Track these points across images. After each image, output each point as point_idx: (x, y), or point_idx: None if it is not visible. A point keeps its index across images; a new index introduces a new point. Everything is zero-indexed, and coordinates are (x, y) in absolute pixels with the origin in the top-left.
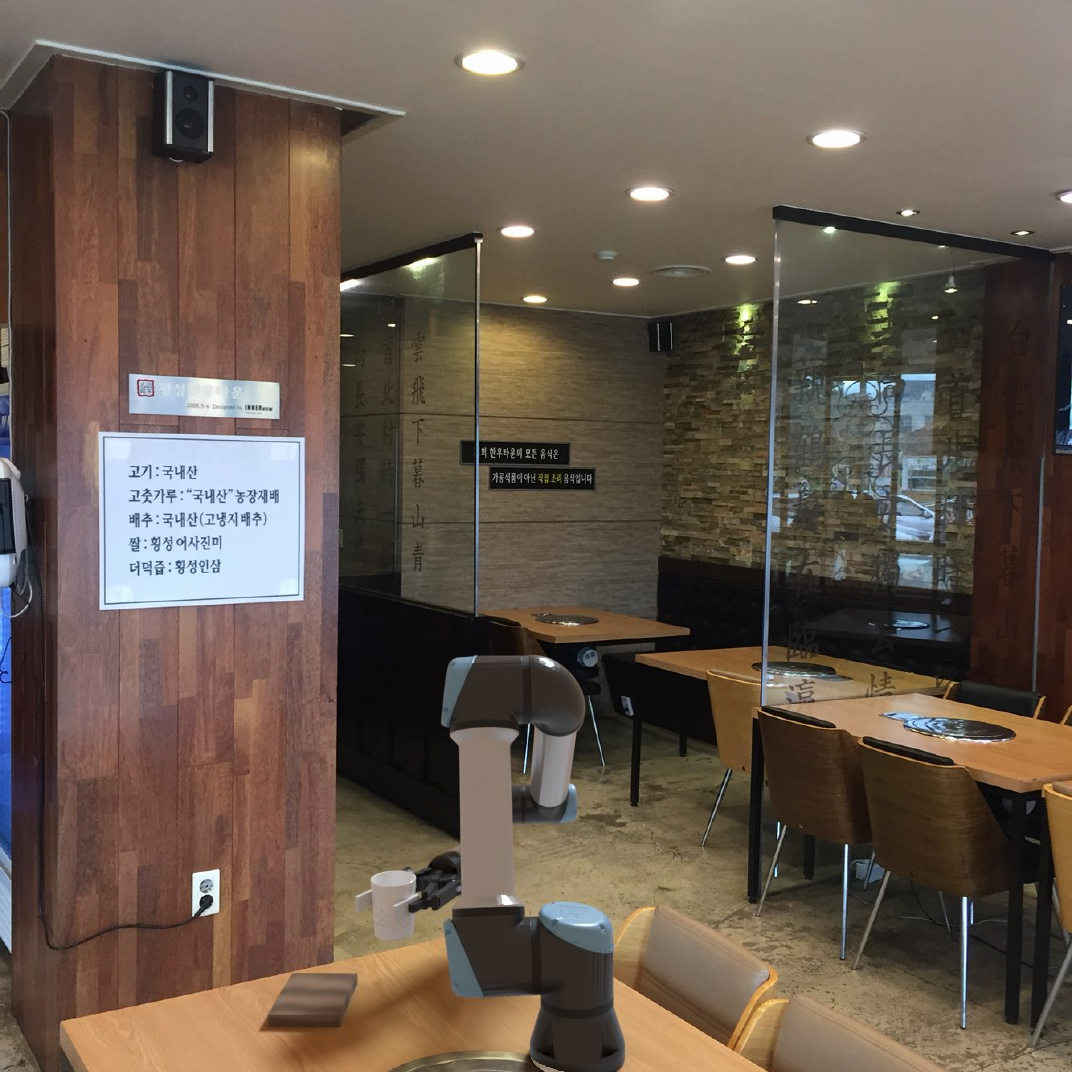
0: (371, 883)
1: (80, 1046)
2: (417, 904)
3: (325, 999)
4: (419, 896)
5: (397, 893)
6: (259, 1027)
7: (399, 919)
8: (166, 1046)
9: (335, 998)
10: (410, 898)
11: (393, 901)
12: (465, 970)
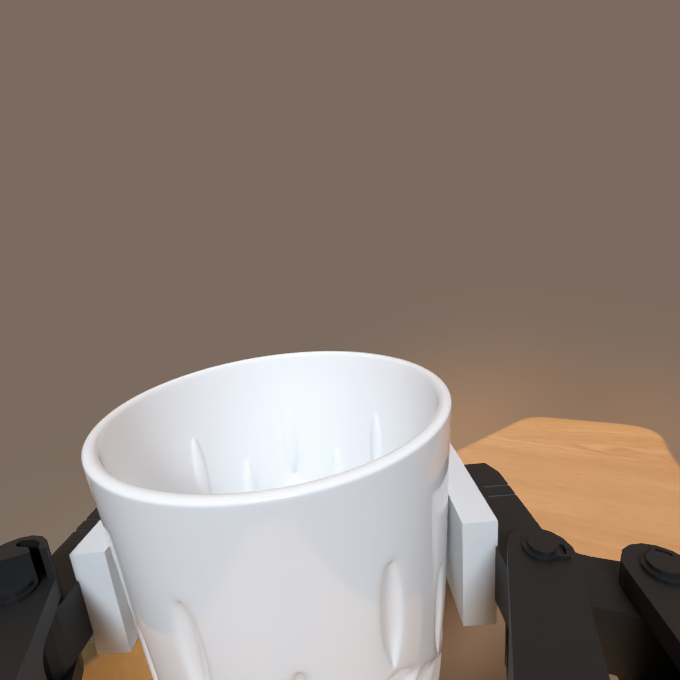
0: (362, 362)
1: (581, 420)
2: (87, 523)
3: (474, 642)
4: (74, 567)
5: (201, 414)
6: None
7: None
8: (519, 455)
9: (460, 665)
10: None
11: (229, 446)
12: None
